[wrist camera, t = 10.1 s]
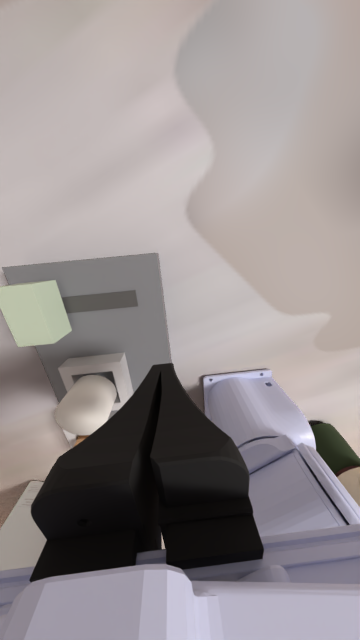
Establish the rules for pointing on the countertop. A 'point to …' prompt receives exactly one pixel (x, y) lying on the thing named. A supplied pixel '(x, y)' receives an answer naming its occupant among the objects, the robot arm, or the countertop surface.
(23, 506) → the supplement box
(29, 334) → the pale green block
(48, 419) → the countertop surface
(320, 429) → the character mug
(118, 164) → the countertop surface
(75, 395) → the off-white button
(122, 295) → the switch panel
